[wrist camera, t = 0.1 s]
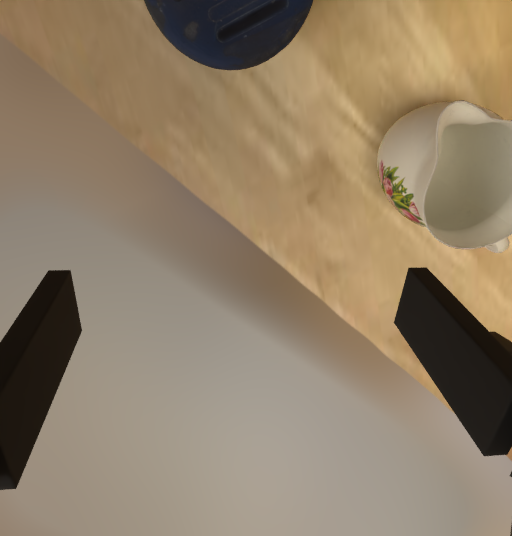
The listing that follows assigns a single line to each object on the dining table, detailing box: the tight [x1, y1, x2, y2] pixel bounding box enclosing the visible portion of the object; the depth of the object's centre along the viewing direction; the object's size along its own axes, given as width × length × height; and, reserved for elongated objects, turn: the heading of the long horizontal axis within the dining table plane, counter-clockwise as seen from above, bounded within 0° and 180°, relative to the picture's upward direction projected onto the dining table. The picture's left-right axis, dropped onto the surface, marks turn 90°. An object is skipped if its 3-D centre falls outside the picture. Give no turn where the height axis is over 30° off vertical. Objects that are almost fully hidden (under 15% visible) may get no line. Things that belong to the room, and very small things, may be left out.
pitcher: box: [377, 100, 512, 253], centre depth 37 cm, size 11×18×14 cm, turn 39°
